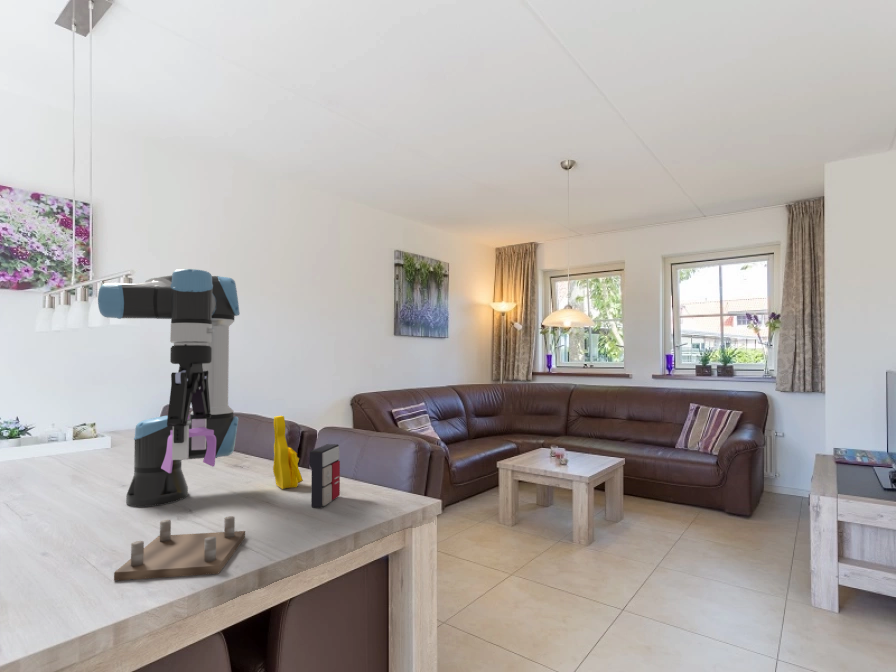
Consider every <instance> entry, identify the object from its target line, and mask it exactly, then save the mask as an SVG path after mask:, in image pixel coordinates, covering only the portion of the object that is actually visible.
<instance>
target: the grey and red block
mask: <svg viewBox="0 0 896 672" xmlns="http://www.w3.org/2000/svg"><path fill="white" fill-rule="evenodd" d="M339 459H340V446H339V444H335V443H334V444H333V443H332V444H331V443H328V444H324V445H322V446H319V447H317V448H314V449H312V450H309V467H310V469H311V502H310V503H311V508H316V509H317V508H318V509H322V508H324V507H326V506H327V505H328V504H330V503H331V502H333V501H334V500H335V498H336V499H337V498H338V497H339V496H340V495H341V491H340V490H341V487H340V486H341V483H340V482H341V470H340V469H341V467H340V466H341V463H340V462H341V461H340V460H339Z"/></svg>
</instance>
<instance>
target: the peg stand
mask: <svg viewBox="0 0 896 672" xmlns="http://www.w3.org/2000/svg"><path fill="white" fill-rule="evenodd" d="M235 519H236V518H235V516H234V515H233V516H232V515H231V516H226V517H224V531H218V532H202V533H199V532H198V533H183V534H182V533H181V534H171V533H172V531H171V529H172V527H171V525H172V522H171V521H172V520H171V519H163V520H160V522H159V535H158V536H156V537H155V538H154V539H153V540H152V541H150V543H148V544H147V545H146V546H145V544H144V543H145V541H144V540H136V541H133V542H131V544H130V559H129V560H127V561H126V562H124V564H122V565H121V566H120V567H118V568H117V569H116V570H115V571H114V572H113V581H114V580H118V581H128V580H129V581H131V580H130V579H133V580H146V579H159V578H176V577H178V578H179V577H189V576H192V577H193V576H205V575H219V574H220V573H221V572H222V570H223V569H224V567H225V566H226V564H227V563H228V562H229V560H230V559H231V558H232V556H233V555H234V554H235V553H236V552H237V550H238V548H239V547H240V545H241V544H242V543H243V541H244V540H245V539H246V531H245V530H239V531H237V530H236V531H235V526H236V525H235V521H236V520H235Z"/></svg>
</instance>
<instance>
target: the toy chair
mask: <svg viewBox="0 0 896 672" xmlns="http://www.w3.org/2000/svg"><path fill="white" fill-rule="evenodd" d="M188 419H190V414H189V415H188ZM172 436H173V430H170V436H169V437H168V441H167V450H166V455H165V458H164V461H163V464H162V466H161V469H163V470H165V471H166V472H168V473H172V465H173V460H172ZM194 436H205V437H206V441H207V451H206V455H205V457H204V458H203V461H202V463H205V464H206V465H208V466H210V467H215V466H216V458H215V455H216V436H215V435H214V430H210V429H207V428H205V427H200V428H193V429H189V437H194Z"/></svg>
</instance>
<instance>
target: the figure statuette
mask: <svg viewBox="0 0 896 672" xmlns="http://www.w3.org/2000/svg"><path fill="white" fill-rule="evenodd" d="M285 420H286V419H285V416H284V415H277V416H275V415H274V416H273V431H274V432H273V434H274V443H273V453H274V454H273V455H274V456H273V466H272V470H273V475H274V479H275V485H276V486H277V487H278V488H280V489H282V490H284V489H288V488H290V489H291V488H298V487H297V486H299V484H300V483H302V482H304V479H303V477H302V474H301V471H300V469H299V465H298V463H299V460H300V457H298V453H297V452H296V451H295V450H294V449H293V448H292V447H289V446H288V442H287V439H286V421H285Z"/></svg>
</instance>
